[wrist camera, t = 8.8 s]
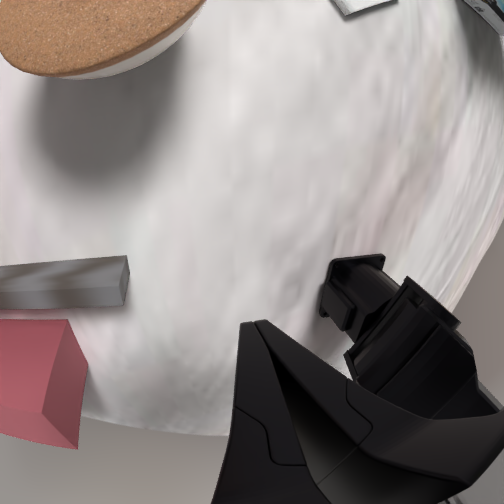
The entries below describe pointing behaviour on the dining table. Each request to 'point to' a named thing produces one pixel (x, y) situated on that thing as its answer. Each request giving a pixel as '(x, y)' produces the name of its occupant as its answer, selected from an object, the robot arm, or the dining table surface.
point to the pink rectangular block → (41, 381)
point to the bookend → (65, 284)
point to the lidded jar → (90, 34)
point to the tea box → (490, 12)
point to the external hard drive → (356, 5)
